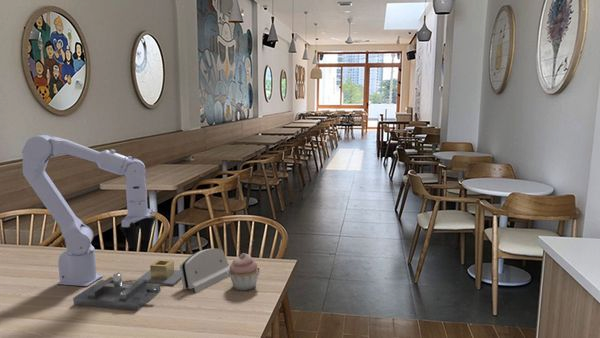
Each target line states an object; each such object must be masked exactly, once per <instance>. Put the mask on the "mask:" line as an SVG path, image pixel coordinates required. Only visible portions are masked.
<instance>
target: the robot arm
mask: <svg viewBox="0 0 600 338" xmlns="http://www.w3.org/2000/svg"><path fill="white" fill-rule="evenodd" d="M21 154H22V175H23V177H24V178H25V179H26V181H27V182H28V184H29V185H30V187H31V188H32V189H33V191H34V192H35V194H36V195H37V197H38V198H39V199H40V201H41V202H42V204H43V205H44V207H45V208H46V209H47V211H48V212H49V214H50V215H51V216H52V218H53V219H54V221H55V222H56V224H57V225H58V226H59V228H60V233H61V236H62V237H63V239H64V241H65V247H66V249H67V250H64V251H63V252H62V253H60V254H59V257H58V264H57V265H58V275H59V276H58V277H59V281H58V282H57V284H58V285H63V286H64V285H65V286H66V285H67V286H80V287H88V286H89V285H92V284H94V282H96V281H98V280H99V279H100V278H103V277H104V274H101V273H97V262H96V252H95V251H96V249H95V247H94V246H93V245H92V241H93V240H94V232H93V230H92V229H91V227H89V226H87V225H86V224H85V223H83V221H82V219H80V218H79V217H77V216H76V214H75V213H74V211H73V210H72V208H71V207H70V206H69V204H68V202H67V201H66V200H65V198H64V196H63V195H62V193H61V192H60V191H59V189H58V188H57V186H56V185H55V183H54V182H53V181H52V179H51V178H50V176H49V175H48V173H47V172H46V169H47V165H48V162H49V160H50V158H51V157H52V156H53V157H55V156H60V155H69V156H71V157H77V158H79V159H83V160H86V161H90V162H93V163H95V164H97V167H98V168H99V169H100V170H102V171H103V170H104V171H107V172H109V173H112V174H116V175H120V176H124V177H125V178H126V185H125V191H126V193H125V194H126V207H127V208H126V209H127V211H126V212H127V214H126V216H125V217H124V218H122V220H121V224H120V225H119V230H120V231H121V232H122V234H123V235H124V238H125V240H126V242H127V243H126V244H127V246H128V249H137V247H138V236H139V231H140V235H141V238H142V239H141V240H142V241H150V239H151V234H152V229H153V226H154V223H155V222H156V219H157V218H156V216H154V208H148V192H147V183H146V181H147V179H146V174H147V170H146V166H145V164H144V162H143V161H142V160H140V159H138V158H133V156H130V155H128V156H125V155H123V154H121V153H117V152H116V150H115V149H110V150H109V149H105V150H102V151H98V150H96V149H93V148H90V147H87V146H85V145H82V144H80V143H77V142H74V141H73V140H69V139H66V138H62V137H59V136H51V135H50V134H46V133H42V134H38V135H36V136H32V137H30V138H28V139H27V140H26V141H25V144H24V146H23V148H22V149H21ZM135 223H138V225H136V224H135Z"/></svg>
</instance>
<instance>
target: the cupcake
mask: <svg viewBox="0 0 600 338" xmlns="http://www.w3.org/2000/svg"><path fill="white" fill-rule="evenodd" d="M229 266H230V269H228V270H229V271H228V272H227V273H228V274H229V277H230V280H231V283H232V287H233V288H234V290H238V291H249V290H252V289H255V287H256V285H257V281H258V276H259V274H260V272H261V271H260V270H261V268H260V267H258V263H257V261H256V260H255V259H253V258H252V256H251V255H250V254H248V253H244V252H242V253H241V254H240V255H239V256H237V257H234V259H233V261H232V262H231V264H229Z"/></svg>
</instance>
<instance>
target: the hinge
mask: <svg viewBox="0 0 600 338" xmlns="http://www.w3.org/2000/svg"><path fill="white" fill-rule="evenodd" d="M228 269H230V264H229V261H228V260H227V257H226V255H225V253H224V251H223V249H222V248H207V249H202V250H199V251H196V252H195V253H193V254H191V255H189V256H188V257H187V258H186V259H184V260H182V262H181V263H180V264H179V270H180V273H181V278H182V279H181V283H182V289H183V290H190V289H194V292H195V294H198V293H200V292H202V291H203V290H205V289H207V288H209V287H212V286H213V285H215V284H217V283H220V282H221V281H224V280H225V279H227V278H229V277H230V276H229V274H228V273H227V272H228V271H229V270H228Z"/></svg>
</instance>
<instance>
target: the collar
mask: <svg viewBox="0 0 600 338" xmlns="http://www.w3.org/2000/svg"><path fill="white" fill-rule="evenodd" d="M149 269H150V272H151V279H166V280H167V279H168V278H169V277H170V276H172V275H173V274H174V270H175V261H174V260H173V259H172V260H171V259H170V260H168V259H157V260H155V261H154V262H153V263H151V264H150V265H149Z"/></svg>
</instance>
